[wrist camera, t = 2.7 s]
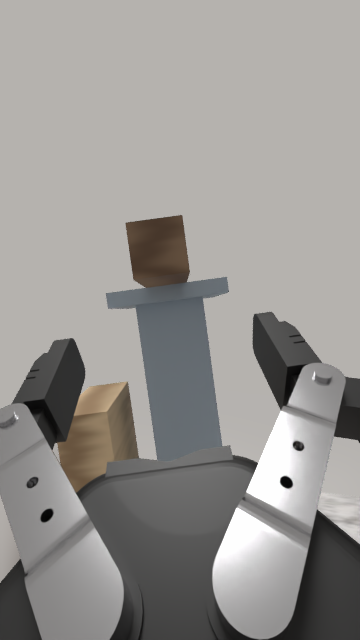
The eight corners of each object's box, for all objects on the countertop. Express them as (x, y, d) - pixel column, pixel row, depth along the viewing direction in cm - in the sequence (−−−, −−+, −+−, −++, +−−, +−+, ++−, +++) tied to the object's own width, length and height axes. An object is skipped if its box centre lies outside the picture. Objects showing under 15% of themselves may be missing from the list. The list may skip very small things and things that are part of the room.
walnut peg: (183, 290, 41) (180, 262, 41) (189, 272, 20) (182, 215, 20) (156, 294, 41) (152, 266, 41) (133, 279, 20) (125, 222, 20)
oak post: (149, 535, 39) (127, 381, 38) (138, 625, 28) (106, 411, 27) (113, 540, 39) (89, 386, 38) (86, 632, 28) (53, 418, 27)
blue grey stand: (241, 506, 42) (212, 286, 40) (266, 587, 30) (226, 276, 28) (158, 518, 42) (127, 297, 40) (150, 602, 30) (105, 293, 28)
